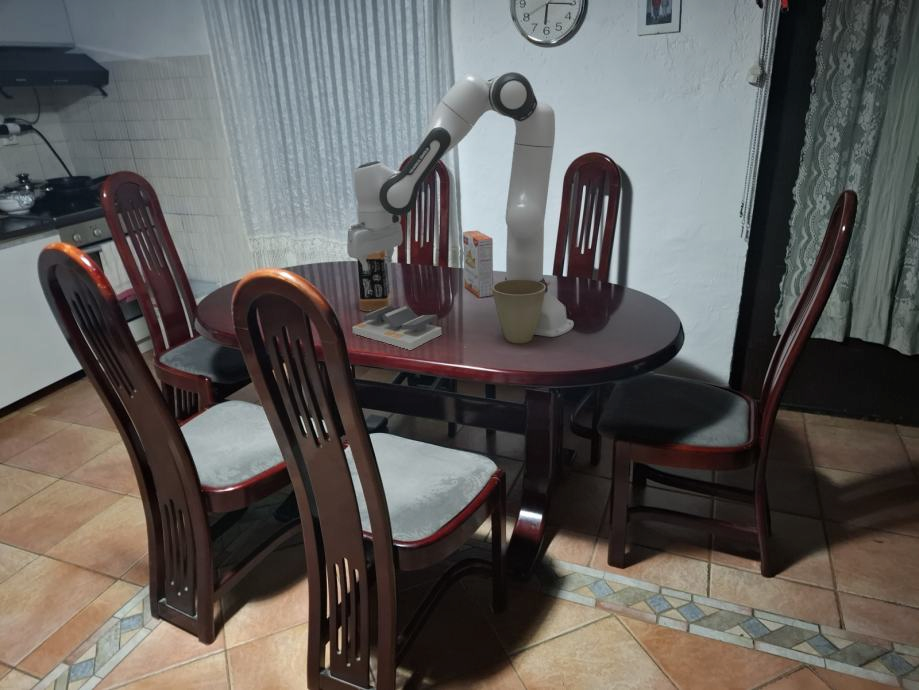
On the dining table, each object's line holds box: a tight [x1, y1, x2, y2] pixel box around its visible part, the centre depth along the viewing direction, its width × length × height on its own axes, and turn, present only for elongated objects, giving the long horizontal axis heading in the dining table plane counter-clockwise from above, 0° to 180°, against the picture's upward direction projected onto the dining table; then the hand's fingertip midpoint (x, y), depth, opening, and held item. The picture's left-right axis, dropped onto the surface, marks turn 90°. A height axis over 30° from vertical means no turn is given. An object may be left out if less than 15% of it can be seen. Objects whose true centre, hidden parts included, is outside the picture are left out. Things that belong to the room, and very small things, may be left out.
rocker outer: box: [363, 305, 400, 321], centre depth 189 cm, size 6×10×2 cm, turn 143°
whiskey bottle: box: [355, 250, 392, 312], centre depth 205 cm, size 10×10×32 cm
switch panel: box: [352, 318, 443, 351], centre depth 185 cm, size 23×14×4 cm, turn 53°
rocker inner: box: [401, 314, 439, 330], centre depth 181 cm, size 6×10×2 cm, turn 143°
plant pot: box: [492, 279, 546, 344], centre depth 177 cm, size 15×15×16 cm
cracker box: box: [462, 230, 494, 299], centre depth 219 cm, size 14×6×21 cm, turn 21°
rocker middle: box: [382, 304, 419, 330], centre depth 185 cm, size 6×10×2 cm
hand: (377, 266), depth 186 cm, fingers open, 8 cm apart
